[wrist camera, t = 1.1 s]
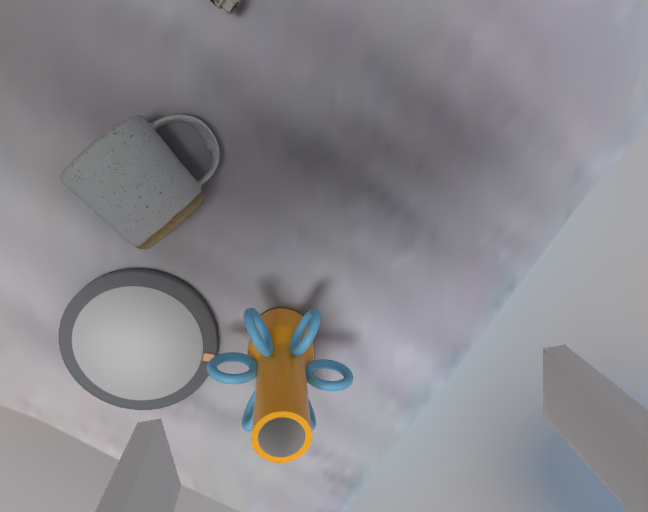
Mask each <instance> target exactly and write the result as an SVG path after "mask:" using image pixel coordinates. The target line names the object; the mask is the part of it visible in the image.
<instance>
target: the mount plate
mask: <svg viewBox="0 0 648 512" xmlns="http://www.w3.org/2000/svg"><path fill="white" fill-rule="evenodd" d="M59 346H60V351H61V355H62V358H63V360H64V363H65V365H66V367H67V369H68V370H69V372H70V374H71V375H72V376H73V378H74V379H75V380H76V381H77V382H78V383H79V384H80V385H81V386H82V387H83V388H84V389H85V390H86V391H88V392H89V393H90V394H92V395H93V396H95V397H97V398H98V399H100V400H102V401H104V402H107V403H109V404H112V405H115V406H118V407H122V408H127V409H135V410H151V409H159V408H163V407H167V406H170V405H173V404H175V403H178V402H180V401H182V400H184V399H185V398H187V397H188V396H190V395H191V394H193V393H194V392H195V391H196V390H197V389H198V388H199V387H200V386H201V385H202V384H203V382H204V381H205V380H206V378H207V377H208V375H209V374H208V372H207V364H208V362H209V361H210V360H211V359H212V358H213V357H215V356H216V353H217V347H218V332H217V326H216V323H215V320H214V317H213V315H212V313H211V310H210V309H209V307H208V305H207V304H206V302H205V301H204V300H203V299H202V297H201V296H200V295H199V294H198V293H197V292H196V291H195V290H194V289H192V288H191V287H190V286H189V285H187V284H186V283H184V282H183V281H181V280H179V279H177V278H176V277H174V276H171V275H169V274H166V273H163V272H159V271H155V270H150V269H137V268H132V269H123V270H118V271H114V272H111V273H108V274H105V275H103V276H101V277H99V278H97V279H95V280H94V281H92V282H91V283H89V284H88V285H87V286H85V287H84V288H83V289H82V290H81V291H80V292H79V293H78V294H77V295H76V296H75V297H74V298H73V299H72V300H71V302H70V303H69V304H68V306H67V308H66V310H65V312H64V314H63V316H62V319H61V322H60V328H59Z"/></svg>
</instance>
